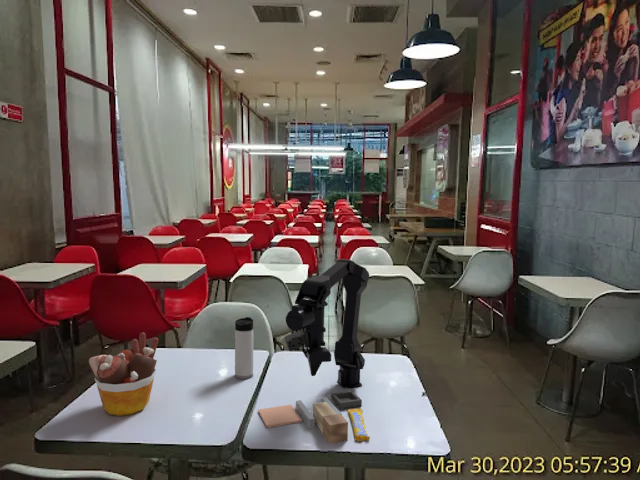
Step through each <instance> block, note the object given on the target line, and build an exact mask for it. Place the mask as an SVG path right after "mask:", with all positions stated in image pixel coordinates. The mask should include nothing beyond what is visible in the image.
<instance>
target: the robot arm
mask: <svg viewBox="0 0 640 480" xmlns="http://www.w3.org/2000/svg"><path fill="white" fill-rule="evenodd" d="M369 272H370V271H368V270H367V268H366V267H364V266H361V265H360V264H358V263H356V262H355V261H353V260H351V259H345V258H340V259H338V260H336V263H335V264H333V265H331V266H330V267H329V268H328V269H326V270H325V271H324V272H323V273H321V274H320V275H316V276H311V277H309V278H307V279H305V280H304V281H303V282H302V284H301V285H300V288H299V291H298V293H297V296H296V298H295V300H294V305H292V306H291V310H289V311H288V312H287V314H286V316H285V323H286V326H287V327H288V329H289V330H290V331H292V332H293V333H290V334H288V335H285V336H284V338H283V339H284V341H285V344H286V348H287V349H288V351H289V352H293V351H295V349H298V348H301V347H304V348H302V349H301V352H302V353H303V354H304V357H305V358H306V359H307V362H308V367H309V371H310V375H311V376H312V377H315V376H316V375H317V373H318V372H319V369H320V367H321V365H322V363H327V362H328V363H330V362H332V353H331V352H330V351H329V349H328V348H327V347H326V341H325V340H324V339H325V336H324V335H325V334H324V333H326V332H327V330H326V327H325V307H327V306H329V303H328V302H327V299H328V297H329V296H330V295H331V294H332V292H331V289H332V287H334V286H335V285H336V284H337V283H338V282H340V281H341V280H342V285H343V287H344V289H345V293H346V295H345V304H344V314H343V324H342V333H341V336H340V338H339V339H338V341H337V340H336V341H335V342H334V343H335V344H334V351H333V358H334V363H335V366H339V369H338V370H337V381H336V382H338V384H339V385H340V386H341V387H343V389H349V388H350V389H351V388H355V387H356V388H358V387H362V386H363V383H362V382H361V370H363V369H364V367H365V365H366V359H365V358H364V356H363V355H362V353H361V345H360V344H361V343H360V341H359V340H358V337H357V336H358V328H359V326H358V325H359V316H360V309H361V308H360V307H361V299H362V298H361V297H362V294H363V292H364V291H365V289H367V286H368V283H369V282H368V281H369V278H370V273H369ZM311 376H310V377H311Z"/></svg>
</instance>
